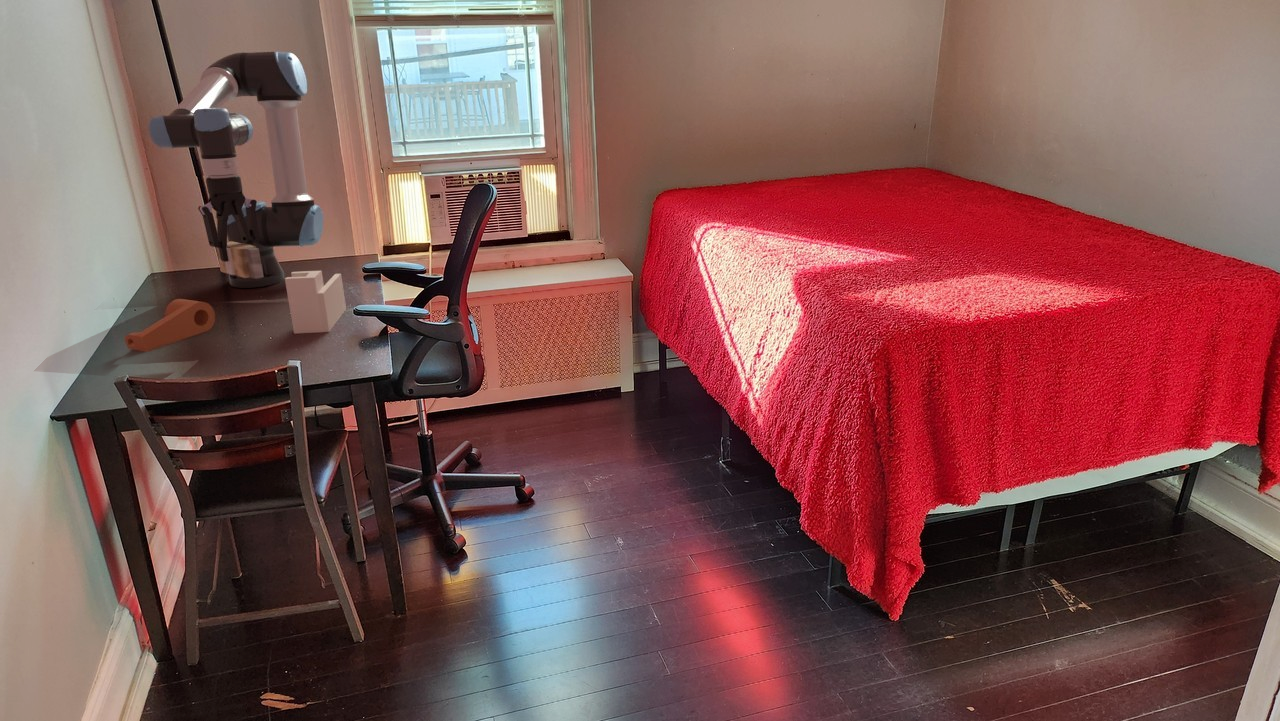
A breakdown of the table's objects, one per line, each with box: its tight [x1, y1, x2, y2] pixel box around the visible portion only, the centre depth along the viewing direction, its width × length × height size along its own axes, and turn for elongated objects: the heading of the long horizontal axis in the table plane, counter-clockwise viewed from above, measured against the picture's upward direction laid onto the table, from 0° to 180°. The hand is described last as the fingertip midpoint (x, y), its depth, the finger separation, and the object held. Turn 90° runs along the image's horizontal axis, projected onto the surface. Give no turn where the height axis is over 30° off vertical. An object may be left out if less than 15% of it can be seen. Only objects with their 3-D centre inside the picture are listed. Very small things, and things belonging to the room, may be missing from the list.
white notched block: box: [284, 270, 347, 335], centre depth 215 cm, size 8×20×14 cm, turn 6°
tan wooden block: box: [215, 241, 264, 279], centre depth 205 cm, size 15×4×7 cm, turn 52°
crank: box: [124, 298, 216, 353], centre depth 206 cm, size 20×8×8 cm, turn 155°
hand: (240, 271), depth 206 cm, fingers closed on tan wooden block, 4 cm apart
